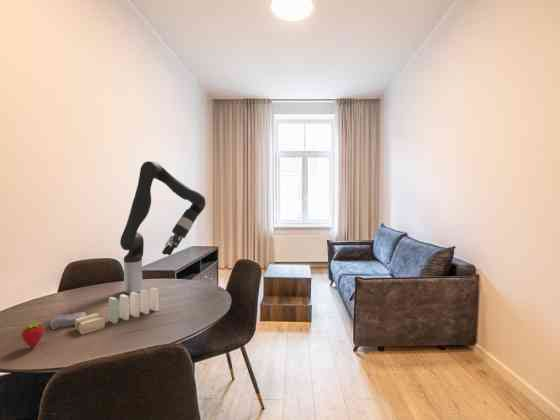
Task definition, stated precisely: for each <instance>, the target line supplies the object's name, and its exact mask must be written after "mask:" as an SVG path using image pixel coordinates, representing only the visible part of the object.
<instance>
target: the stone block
mask: <svg viewBox="0 0 560 420" xmlns="http://www.w3.org/2000/svg"><path fill="white" fill-rule="evenodd" d="M85 316H87V313H86V311H81V312H78V311H77V312H73V313H72V314H71V313H70V314H57V315H56V314H55V315H54V316H53V317H52V319H51V320H50V329H51V328H55V329H58V328H57V327H62V328H66V327H65V326H68V327H72V326H71V325H74V326H75V319H77V318H81V317H85Z"/></svg>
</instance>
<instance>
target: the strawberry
mask: <svg viewBox="0 0 560 420" xmlns="http://www.w3.org/2000/svg"><path fill="white" fill-rule="evenodd" d="M35 321H36V319H34V320H33V321H32V322H31V323H30V324H26V325H25V326H24V329H23V330H22V333H21V337H22V339H23V341H24V343H26V345H27V346H29V348H31V347H34V348H35V347H36V346H37V344H38V343H39V342H40V340H42V338H43V336H44V331H45V329H44V326H43V325H42V323H38V322H35Z"/></svg>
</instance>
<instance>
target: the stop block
mask: <svg viewBox="0 0 560 420" xmlns="http://www.w3.org/2000/svg"><path fill="white" fill-rule="evenodd" d="M105 320H106V319H105V317H104V316H102V315H101V314H99V313H93V314H90V315H86V316H85V317H81V318H77V319H75V325H74V328H75V330H76V331H77V330H78V331H79V332H78V331H77V332H78V333H80V334H81V335H84V334H88V333H92V332H95V331H99V330H101V329H105V327H106V325H105V324H106V321H105Z"/></svg>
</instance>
